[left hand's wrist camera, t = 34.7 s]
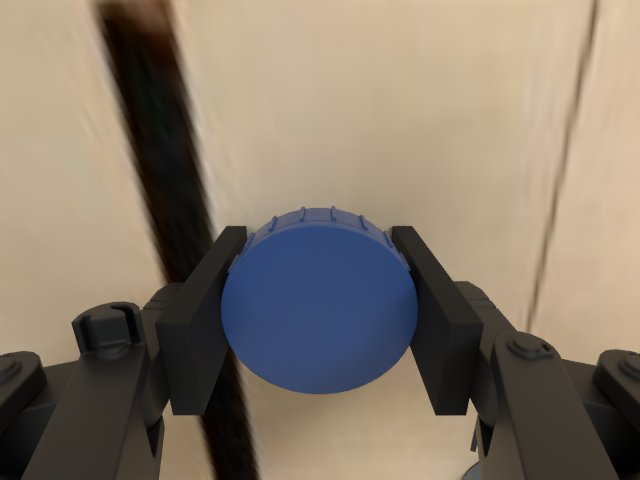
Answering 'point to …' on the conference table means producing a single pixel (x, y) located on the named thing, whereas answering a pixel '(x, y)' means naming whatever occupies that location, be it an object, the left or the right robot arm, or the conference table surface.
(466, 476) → the jar
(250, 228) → the conference table surface
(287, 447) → the conference table surface
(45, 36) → the conference table surface
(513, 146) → the conference table surface
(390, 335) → the lid
